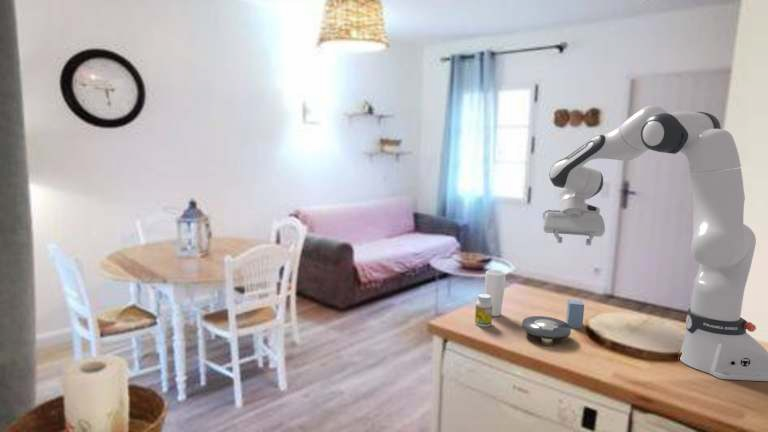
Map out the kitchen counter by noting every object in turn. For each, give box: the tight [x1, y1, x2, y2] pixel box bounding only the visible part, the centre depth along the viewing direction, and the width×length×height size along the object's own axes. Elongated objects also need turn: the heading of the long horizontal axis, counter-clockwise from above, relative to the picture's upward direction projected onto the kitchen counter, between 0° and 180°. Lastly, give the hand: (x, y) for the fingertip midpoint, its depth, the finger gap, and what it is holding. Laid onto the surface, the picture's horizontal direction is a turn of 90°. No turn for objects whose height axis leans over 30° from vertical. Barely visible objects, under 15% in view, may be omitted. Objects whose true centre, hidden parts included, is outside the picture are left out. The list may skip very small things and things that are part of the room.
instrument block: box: [565, 298, 585, 329], centre depth 151 cm, size 4×4×8 cm
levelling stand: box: [521, 315, 572, 347], centre depth 142 cm, size 14×14×5 cm
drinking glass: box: [484, 269, 507, 317], centre depth 159 cm, size 7×7×15 cm
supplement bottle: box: [474, 293, 493, 327], centre depth 151 cm, size 5×5×10 cm
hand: (574, 243), depth 161 cm, fingers open, 8 cm apart
